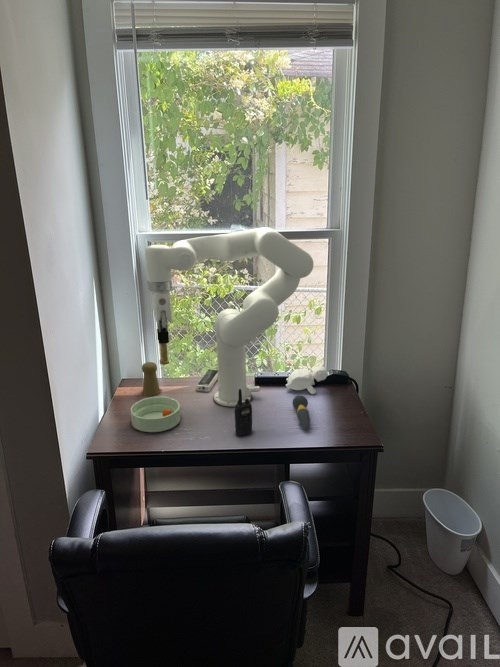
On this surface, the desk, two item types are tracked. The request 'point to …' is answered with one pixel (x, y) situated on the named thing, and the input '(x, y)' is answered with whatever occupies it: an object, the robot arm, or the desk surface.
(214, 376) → the multiport hub
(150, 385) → the cork
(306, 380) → the white animal figurine
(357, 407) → the desk surface
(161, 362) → the muddler
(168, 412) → the ball
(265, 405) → the desk surface
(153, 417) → the bowl
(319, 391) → the desk surface
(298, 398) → the dark grey microphone
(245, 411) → the two-way radio
